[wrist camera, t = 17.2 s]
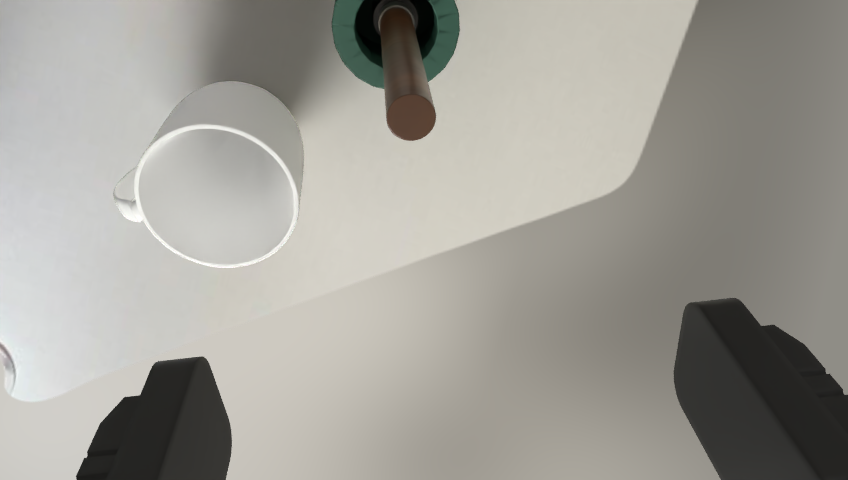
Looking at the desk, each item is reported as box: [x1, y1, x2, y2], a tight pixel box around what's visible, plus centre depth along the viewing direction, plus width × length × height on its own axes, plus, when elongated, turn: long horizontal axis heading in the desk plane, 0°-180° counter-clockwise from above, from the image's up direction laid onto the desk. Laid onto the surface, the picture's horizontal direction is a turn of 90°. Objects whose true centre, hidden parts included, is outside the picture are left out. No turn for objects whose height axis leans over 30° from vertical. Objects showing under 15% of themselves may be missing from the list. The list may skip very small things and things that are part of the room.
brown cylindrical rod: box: [372, 0, 436, 141], centre depth 32 cm, size 3×3×21 cm
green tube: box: [332, 0, 460, 89], centre depth 38 cm, size 7×7×8 cm
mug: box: [113, 81, 304, 268], centre depth 41 cm, size 12×9×12 cm
